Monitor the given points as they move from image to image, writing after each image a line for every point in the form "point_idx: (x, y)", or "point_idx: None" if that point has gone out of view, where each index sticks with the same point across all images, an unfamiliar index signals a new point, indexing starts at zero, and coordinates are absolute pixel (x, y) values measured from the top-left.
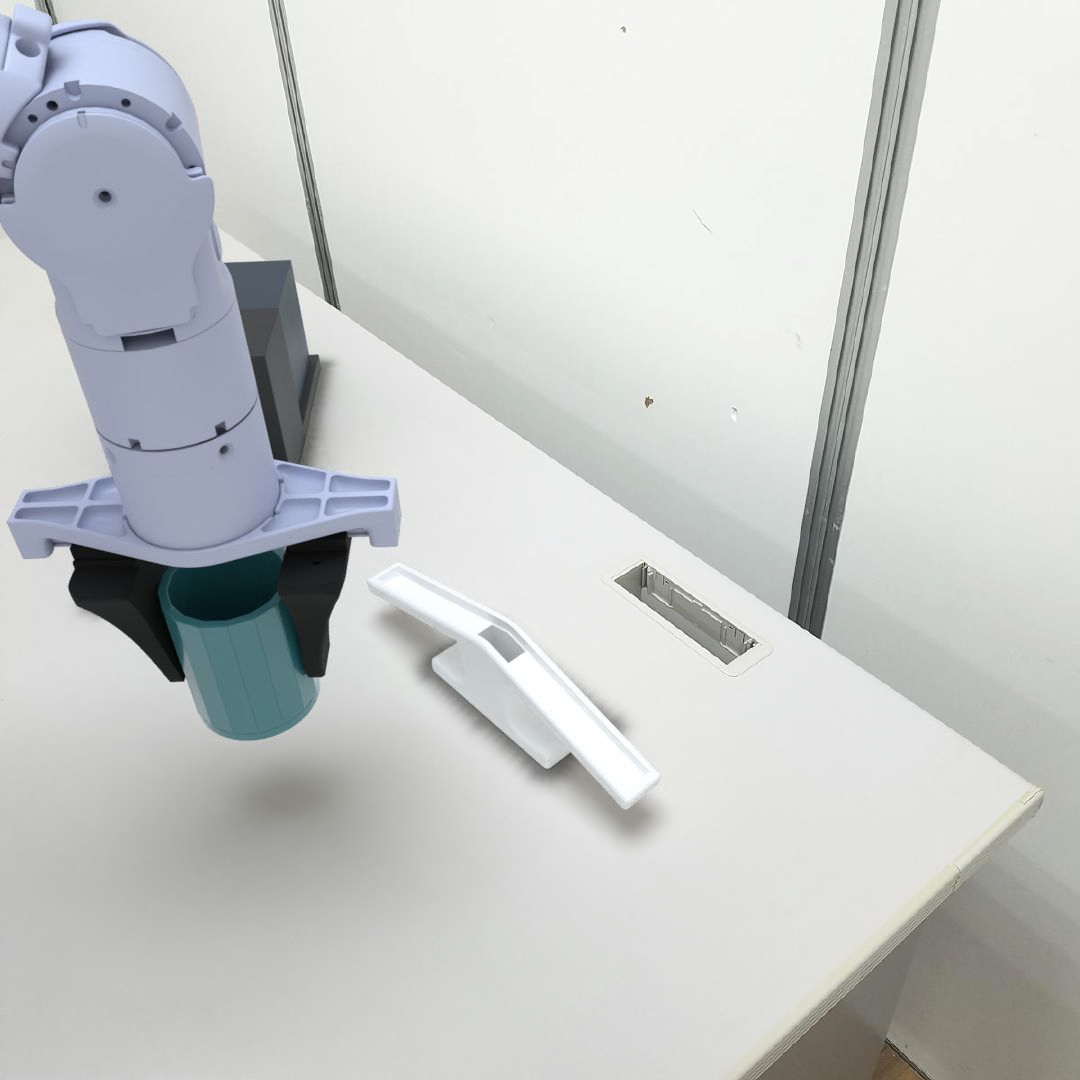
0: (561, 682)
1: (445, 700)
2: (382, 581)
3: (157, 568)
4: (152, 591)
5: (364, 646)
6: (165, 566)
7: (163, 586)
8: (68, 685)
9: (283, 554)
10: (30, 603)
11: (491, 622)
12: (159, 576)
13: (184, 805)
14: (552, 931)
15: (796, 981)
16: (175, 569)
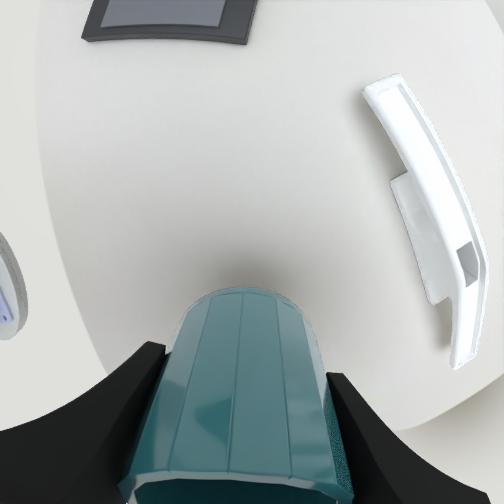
0: (479, 307)
1: (390, 220)
2: (380, 93)
3: (106, 490)
4: (116, 499)
5: (335, 131)
6: (108, 455)
7: (129, 500)
8: (70, 129)
9: (344, 498)
10: (47, 41)
11: (471, 235)
12: (111, 479)
13: (169, 273)
14: (382, 389)
15: (448, 405)
16: (135, 488)
